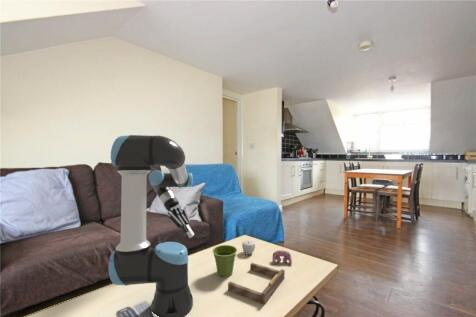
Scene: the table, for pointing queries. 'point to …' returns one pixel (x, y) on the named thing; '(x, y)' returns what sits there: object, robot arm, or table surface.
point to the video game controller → (282, 253)
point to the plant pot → (224, 259)
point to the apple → (248, 247)
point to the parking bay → (267, 291)
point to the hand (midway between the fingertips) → (192, 236)
